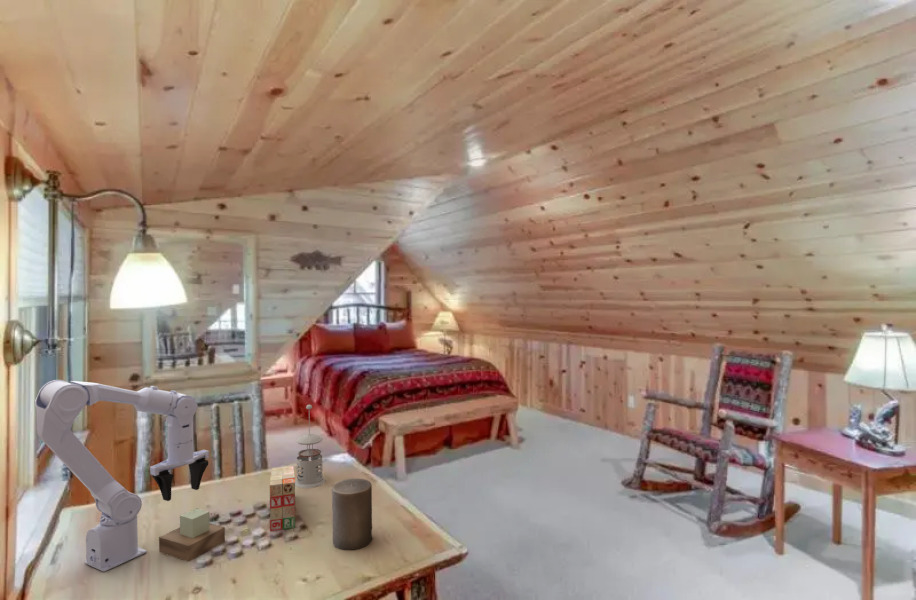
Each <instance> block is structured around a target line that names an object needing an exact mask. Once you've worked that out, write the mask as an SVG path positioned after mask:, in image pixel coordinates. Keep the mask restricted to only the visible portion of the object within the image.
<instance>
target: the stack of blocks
mask: <svg viewBox="0 0 916 600" xmlns="http://www.w3.org/2000/svg"><path fill="white" fill-rule="evenodd" d="M294 468H295V467H294V465H290V466H282V467H272V468H270V478H269V479H270V480H269V513H270V514H269V515H270V516H269V532H275V531H282V530H289V529H294V528H296V486H295V481H296V475H295V469H294ZM281 529H282V530H281ZM274 530H275V531H274Z"/></svg>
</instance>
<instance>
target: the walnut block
mask: <svg viewBox="0 0 916 600" xmlns="http://www.w3.org/2000/svg"><path fill="white" fill-rule="evenodd" d="M225 542H226V528H225V526H221V525H219V524H215V523H210V522H209V531H207V532H204V533H202V534H200V535H198V536H196V537H194V538H190V537H187V536H184V535H181V534H180V526H179V527H177V528H176V529H174V530H171V531H169V532H167V533H165V534H163V535H161V536H159V537H158V552H159V553H160V554H164V555H167V556H169V557H173V558H176V559H180V560H183V561H186V562H191V561H192V560H194V559H195V558H199V556H201V555H203V554H204V553H206V552H209V551H210V550H212V549H214V548H216V547H217V546H219V545H221V544H223V543H225Z"/></svg>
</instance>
